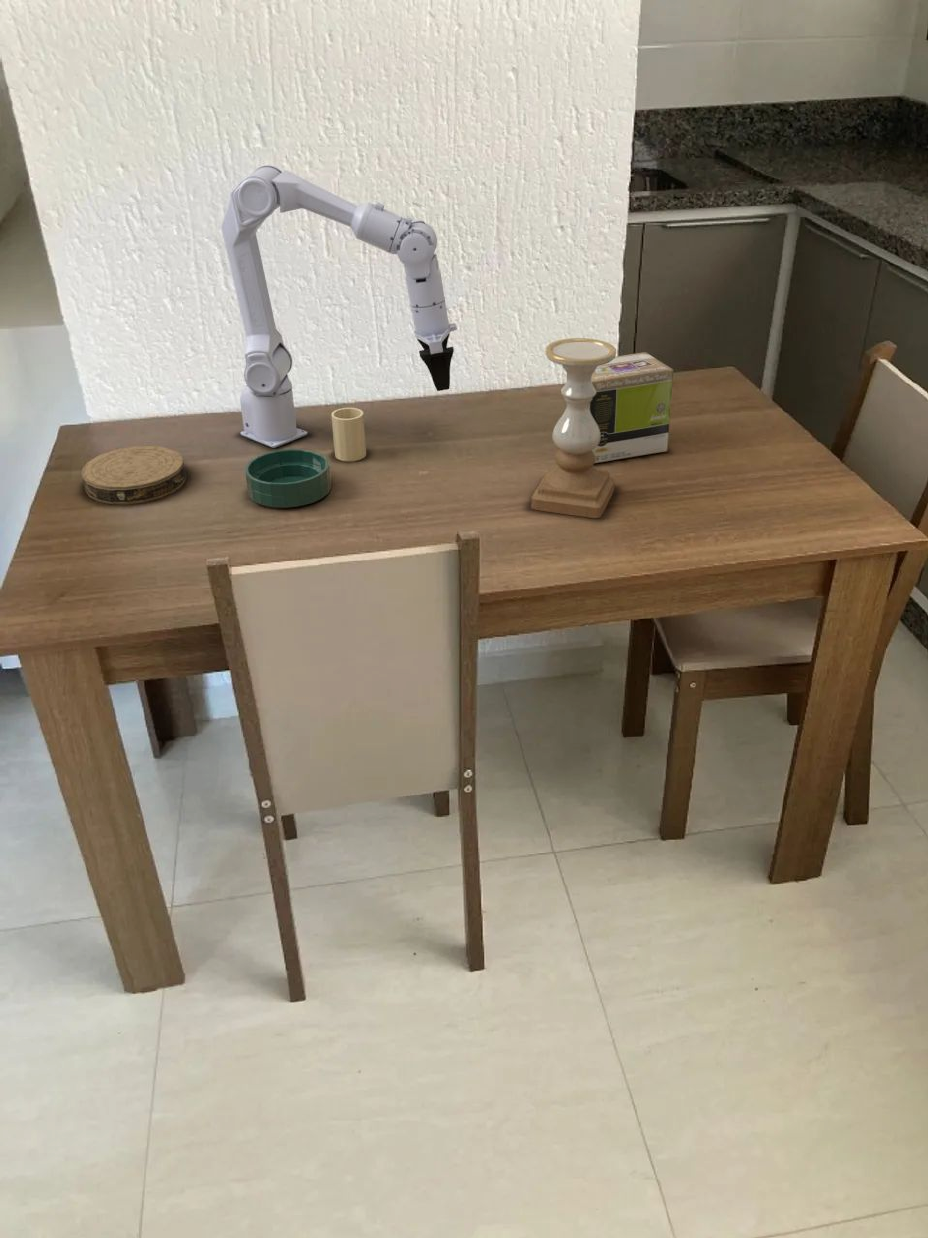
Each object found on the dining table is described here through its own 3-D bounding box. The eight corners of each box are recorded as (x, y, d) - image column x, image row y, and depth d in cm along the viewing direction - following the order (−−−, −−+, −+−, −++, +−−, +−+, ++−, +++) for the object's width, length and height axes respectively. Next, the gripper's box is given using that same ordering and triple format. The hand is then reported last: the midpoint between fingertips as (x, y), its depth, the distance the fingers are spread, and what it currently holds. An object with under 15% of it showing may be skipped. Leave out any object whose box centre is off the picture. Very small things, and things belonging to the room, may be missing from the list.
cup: (328, 455, 174) (324, 414, 170) (351, 446, 178) (348, 405, 173) (350, 464, 171) (346, 422, 167) (372, 454, 175) (369, 412, 170)
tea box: (641, 431, 181) (648, 349, 173) (667, 453, 173) (676, 368, 165) (562, 443, 177) (566, 360, 169) (586, 466, 169) (591, 380, 161)
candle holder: (615, 488, 162) (626, 340, 149) (599, 519, 153) (610, 364, 140) (548, 479, 165) (553, 333, 152) (529, 509, 157) (533, 357, 143)
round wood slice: (96, 464, 172) (92, 448, 171) (191, 459, 174) (188, 443, 172) (75, 507, 159) (71, 490, 158) (179, 501, 160) (176, 484, 159)
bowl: (232, 494, 162) (228, 468, 160) (294, 467, 170) (291, 442, 168) (285, 518, 155) (281, 491, 153) (347, 489, 163) (345, 463, 161)
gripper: (455, 309, 160) (468, 391, 167) (448, 286, 172) (461, 364, 179) (411, 317, 160) (426, 399, 167) (407, 294, 172) (421, 371, 179)
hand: (441, 381), depth 173 cm, fingers open, 7 cm apart
